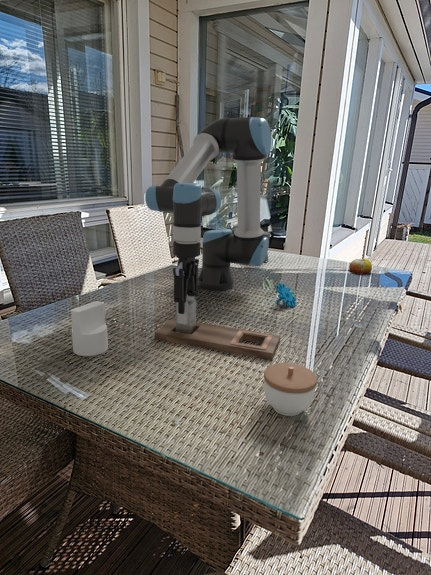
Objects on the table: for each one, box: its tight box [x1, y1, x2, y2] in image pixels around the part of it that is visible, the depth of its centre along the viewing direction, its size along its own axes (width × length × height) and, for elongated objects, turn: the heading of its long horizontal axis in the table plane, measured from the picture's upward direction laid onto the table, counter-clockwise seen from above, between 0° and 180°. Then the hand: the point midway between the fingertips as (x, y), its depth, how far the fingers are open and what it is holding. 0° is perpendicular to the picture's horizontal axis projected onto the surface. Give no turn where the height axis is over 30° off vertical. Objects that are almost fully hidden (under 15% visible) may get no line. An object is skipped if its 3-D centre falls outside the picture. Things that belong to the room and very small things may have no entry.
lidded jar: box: [263, 362, 318, 417], centre depth 83 cm, size 11×11×9 cm
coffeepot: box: [260, 226, 275, 263], centre depth 211 cm, size 15×9×18 cm, turn 125°
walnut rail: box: [154, 317, 281, 361], centre depth 115 cm, size 12×34×2 cm, turn 71°
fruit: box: [348, 258, 373, 275], centre depth 198 cm, size 11×10×8 cm
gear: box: [275, 282, 298, 308], centre depth 148 cm, size 11×6×10 cm
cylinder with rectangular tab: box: [70, 300, 109, 357], centre depth 106 cm, size 9×9×12 cm
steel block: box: [175, 299, 197, 335], centre depth 116 cm, size 4×4×9 cm
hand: (186, 319), depth 117 cm, fingers closed on steel block, 4 cm apart
